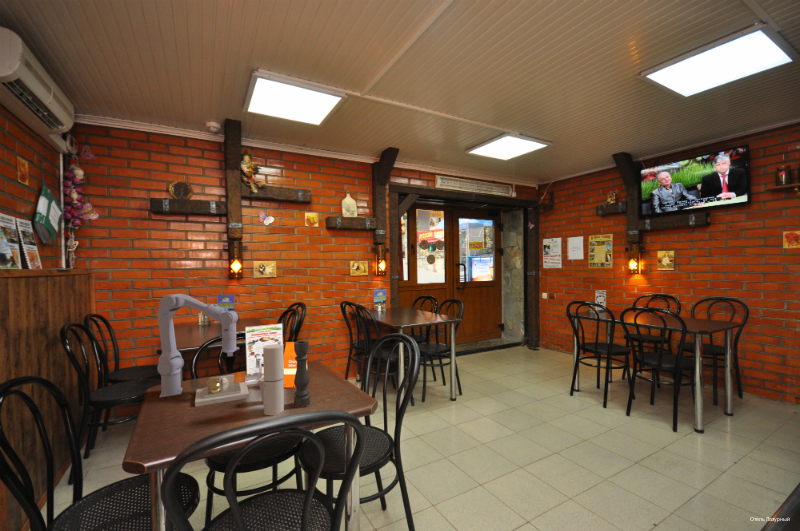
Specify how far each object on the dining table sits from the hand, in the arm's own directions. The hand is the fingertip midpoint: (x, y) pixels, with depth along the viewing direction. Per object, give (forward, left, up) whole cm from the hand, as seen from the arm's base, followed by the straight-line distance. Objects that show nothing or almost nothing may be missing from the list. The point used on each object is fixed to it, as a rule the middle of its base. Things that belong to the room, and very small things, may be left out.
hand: (229, 369), depth 160 cm
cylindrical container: (+32, +14, -11) cm, 37 cm away
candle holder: (+30, +25, -11) cm, 40 cm away
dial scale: (+2, -3, -10) cm, 11 cm away
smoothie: (+20, +13, -11) cm, 26 cm away
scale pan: (+2, -3, -8) cm, 9 cm away
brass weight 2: (+6, -6, -7) cm, 11 cm away
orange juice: (+3, +28, -11) cm, 30 cm away
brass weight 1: (+1, -6, -7) cm, 10 cm away
